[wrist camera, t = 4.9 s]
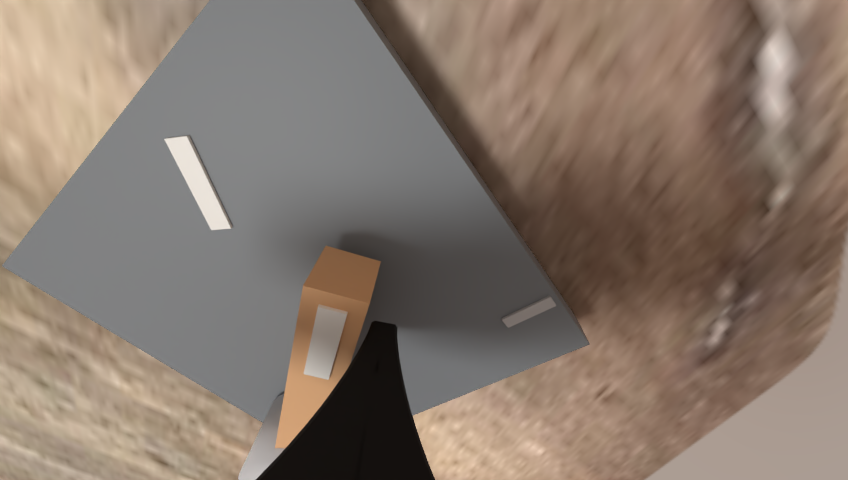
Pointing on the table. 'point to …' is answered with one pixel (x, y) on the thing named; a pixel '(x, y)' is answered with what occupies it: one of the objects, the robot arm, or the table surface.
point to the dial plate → (292, 213)
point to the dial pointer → (316, 349)
